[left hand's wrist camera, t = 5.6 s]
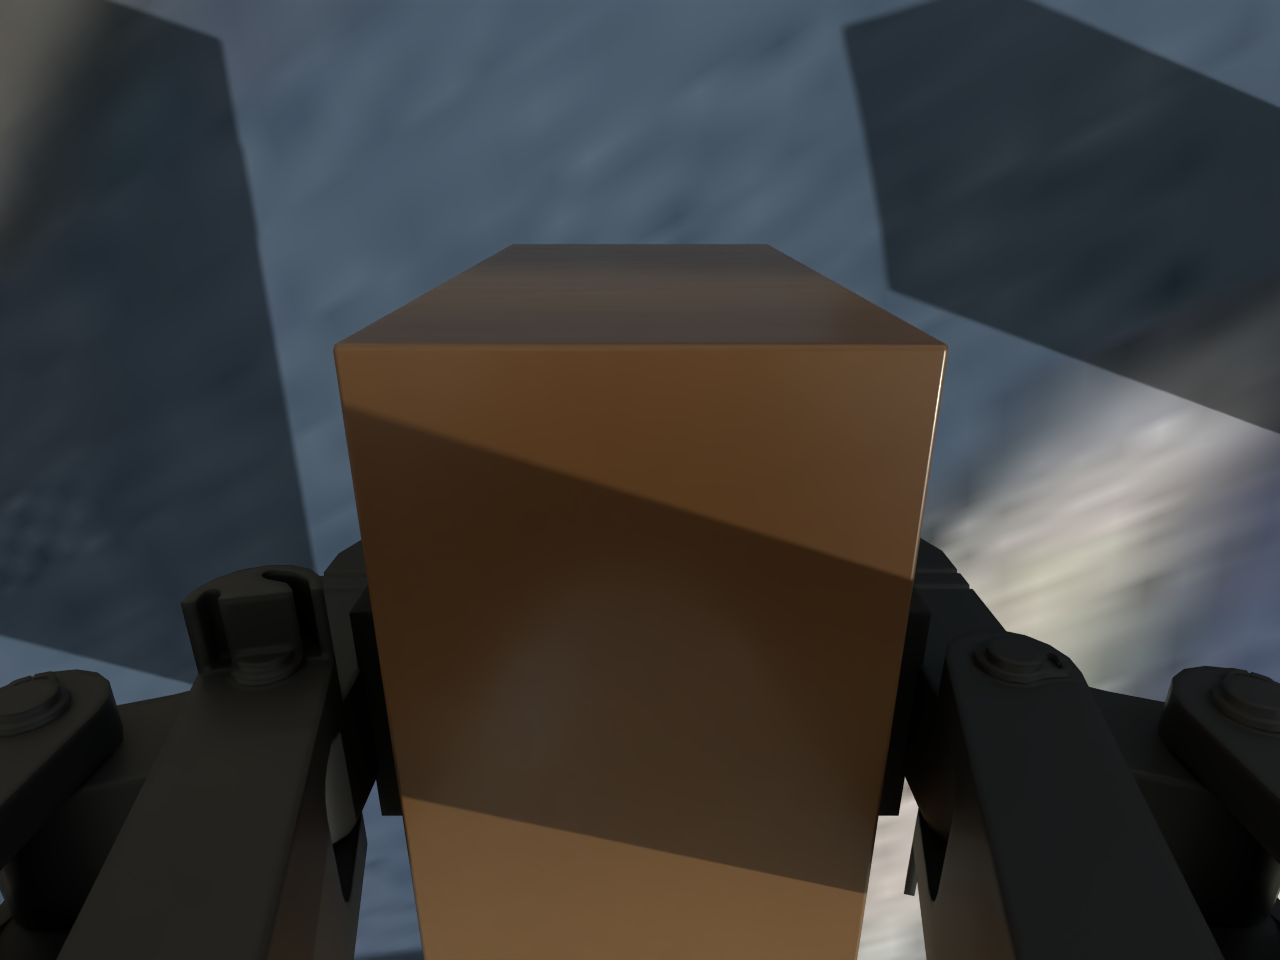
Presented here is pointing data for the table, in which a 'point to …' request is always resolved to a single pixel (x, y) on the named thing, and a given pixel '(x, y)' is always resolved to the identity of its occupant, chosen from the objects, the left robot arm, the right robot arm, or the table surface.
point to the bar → (640, 594)
